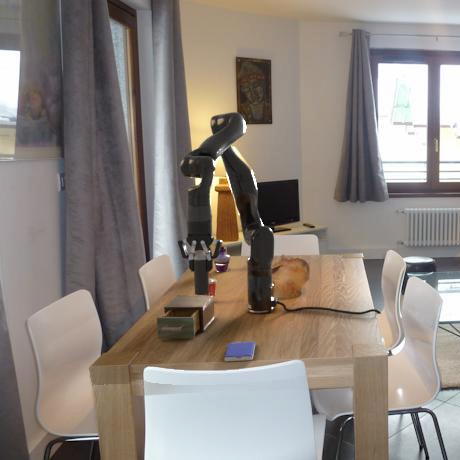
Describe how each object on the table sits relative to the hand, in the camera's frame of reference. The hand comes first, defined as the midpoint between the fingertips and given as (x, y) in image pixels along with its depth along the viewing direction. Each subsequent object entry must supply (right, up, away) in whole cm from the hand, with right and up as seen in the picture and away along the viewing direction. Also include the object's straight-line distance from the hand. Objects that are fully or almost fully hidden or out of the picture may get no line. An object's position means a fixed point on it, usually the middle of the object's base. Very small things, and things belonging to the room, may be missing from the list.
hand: (201, 270), depth 202 cm
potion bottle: (-25, -7, +101) cm, 104 cm away
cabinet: (-10, -20, +19) cm, 29 cm away
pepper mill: (0, -7, +1) cm, 8 cm away
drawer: (-9, -21, +7) cm, 24 cm away
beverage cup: (-13, -16, +47) cm, 51 cm away
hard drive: (+15, -25, -7) cm, 30 cm away
